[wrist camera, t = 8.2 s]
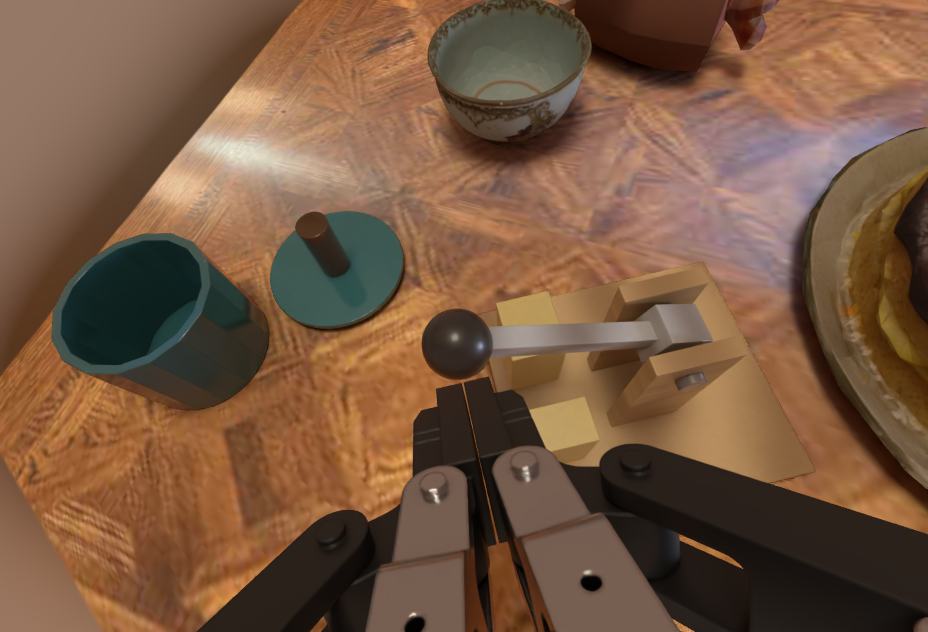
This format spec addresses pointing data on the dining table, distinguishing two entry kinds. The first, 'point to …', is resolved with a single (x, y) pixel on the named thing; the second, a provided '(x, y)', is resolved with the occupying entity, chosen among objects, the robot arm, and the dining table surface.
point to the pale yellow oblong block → (533, 366)
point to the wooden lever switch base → (671, 382)
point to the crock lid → (336, 269)
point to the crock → (161, 323)
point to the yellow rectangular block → (566, 428)
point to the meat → (669, 27)
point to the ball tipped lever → (555, 338)
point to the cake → (876, 291)
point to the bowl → (509, 67)
